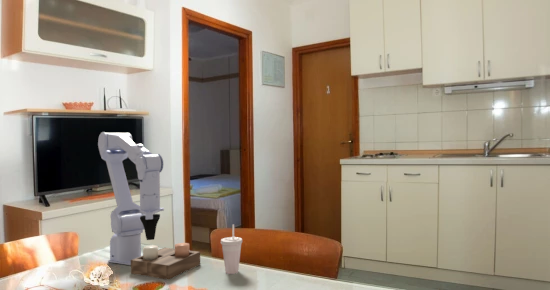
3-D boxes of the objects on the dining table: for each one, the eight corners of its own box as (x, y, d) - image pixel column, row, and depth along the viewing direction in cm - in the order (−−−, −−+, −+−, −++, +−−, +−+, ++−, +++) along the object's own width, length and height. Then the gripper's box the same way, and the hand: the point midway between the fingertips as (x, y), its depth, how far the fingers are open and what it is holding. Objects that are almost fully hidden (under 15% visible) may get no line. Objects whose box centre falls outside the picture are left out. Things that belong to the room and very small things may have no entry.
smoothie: (239, 276, 111) (238, 227, 111) (217, 275, 112) (217, 226, 112) (245, 269, 117) (244, 222, 117) (225, 268, 119) (224, 222, 119)
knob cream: (139, 259, 116) (139, 248, 116) (150, 255, 120) (150, 244, 120) (151, 261, 114) (151, 249, 114) (161, 257, 118) (161, 246, 118)
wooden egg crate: (130, 273, 115) (130, 260, 115) (165, 259, 128) (164, 247, 128) (168, 279, 109) (168, 265, 109) (200, 264, 122) (200, 251, 122)
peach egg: (171, 256, 119) (171, 245, 119) (180, 253, 123) (180, 242, 123) (183, 258, 117) (183, 247, 117) (192, 254, 121) (192, 243, 121)
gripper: (163, 196, 111) (164, 244, 111) (163, 191, 125) (164, 233, 125) (137, 197, 109) (138, 246, 109) (140, 192, 123) (141, 234, 123)
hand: (150, 239), depth 117 cm, fingers closed
